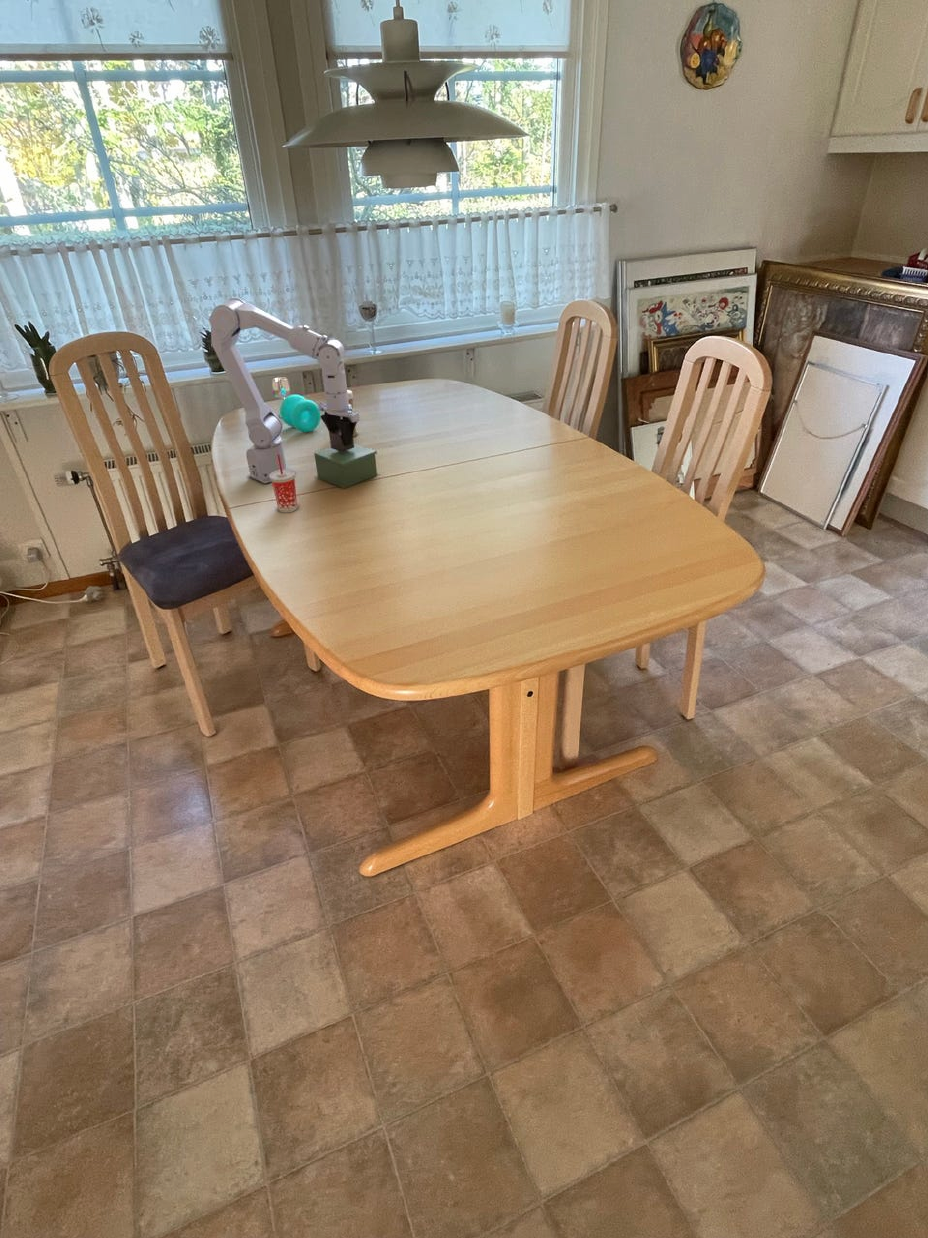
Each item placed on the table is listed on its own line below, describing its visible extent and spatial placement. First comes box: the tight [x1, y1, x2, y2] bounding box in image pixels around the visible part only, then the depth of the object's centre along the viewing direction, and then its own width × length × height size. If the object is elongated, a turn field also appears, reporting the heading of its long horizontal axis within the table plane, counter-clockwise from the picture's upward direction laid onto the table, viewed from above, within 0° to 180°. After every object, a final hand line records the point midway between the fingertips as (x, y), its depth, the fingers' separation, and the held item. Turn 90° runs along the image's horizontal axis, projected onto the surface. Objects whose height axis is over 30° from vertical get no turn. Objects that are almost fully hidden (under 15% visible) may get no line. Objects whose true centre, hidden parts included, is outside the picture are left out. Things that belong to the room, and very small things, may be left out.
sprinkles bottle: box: [341, 389, 358, 438], centre depth 211 cm, size 5×5×14 cm
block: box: [328, 429, 355, 452], centre depth 183 cm, size 4×4×4 cm
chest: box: [314, 454, 378, 489], centre depth 187 cm, size 11×12×6 cm
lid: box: [313, 442, 378, 466], centre depth 185 cm, size 12×12×1 cm
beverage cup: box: [269, 454, 298, 513], centre depth 169 cm, size 6×6×14 cm
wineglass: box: [271, 376, 292, 418], centre depth 228 cm, size 6×6×12 cm
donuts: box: [279, 394, 322, 433], centre depth 217 cm, size 10×10×10 cm
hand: (342, 442), depth 184 cm, fingers closed on block, 4 cm apart
